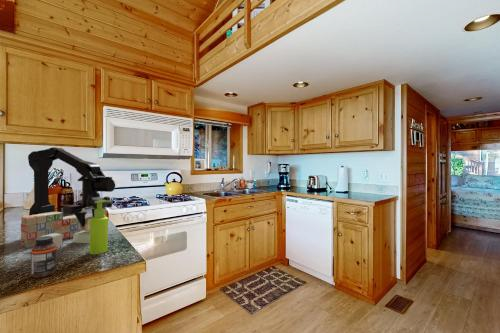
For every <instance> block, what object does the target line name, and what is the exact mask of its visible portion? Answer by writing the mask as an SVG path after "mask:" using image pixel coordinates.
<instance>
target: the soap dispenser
mask: <svg viewBox="0 0 500 333" xmlns="http://www.w3.org/2000/svg"><path fill="white" fill-rule="evenodd" d="M110 201H111V200H110ZM110 201H108V200H100V201H95V203H97V209H95V210H94V218H91V219H90V243H89V254H90V255H99V254H104V253H106V252H108V246H109V244H108V242H109V241H108V240H109V239H108V238H109V217H107V216H105V214H106V213H105V211H106V210H105V209H103V208H102V202H110Z"/></svg>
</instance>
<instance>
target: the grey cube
mask: <svg viewBox="0 0 500 333" xmlns="http://www.w3.org/2000/svg"><path fill="white" fill-rule="evenodd" d="M62 235H63V234H58V233H52V234H48V235H44V236H52V237H53V242H54V243H56V244H57V248H60V246H61V247H63V239H62ZM44 236H40V237H44Z"/></svg>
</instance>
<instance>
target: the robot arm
mask: <svg viewBox="0 0 500 333" xmlns="http://www.w3.org/2000/svg"><path fill="white" fill-rule="evenodd" d="M27 159H28V164H29V165H28V166H30V168H31V169H32V170H33V192H34V193H33V197H34V198H33V204H32V205H31V207H30V208H29V211H28V212H29V213H28V215H27V216H29V215H36V214H42V213H50V212H56V211H55V208H56V206H55V204H54V203H53V204H52V203H51V202H50V197H49V196H50V194H49V193H50V192H49V188H50V187H49V170H50V169H51V168H52V166H53V163H54V161H57V160H60V161H62V162H64V163H65V164H67V165H69V166H71V167H73V168H74V169H75V170H76V172H77V173H78V174H79V175H81V177H79V178H78V179H77V182H82V185H81V186H82V187H81V193H79V196H80V197H81V202H79V205H78V204H71V205H65V206H64V207H63V209H62V210H63V212H62V213H63V214H64V213H65V214H71V215H72V214H73V215H75V216H76V217H77V219H78V221H79V222H80V224H81V226H82V227H85V218H86V215H87V213H88V211H85V210H89V209H91V215H92V216H91V217H94V210H95V209H97V203H95V201H100V200H108V201H110V202H102V208H103V209H105V211H106V209H107V208H112V207H113V202H112V201H111V197H110V196H104V197H101V194H100V192H105V193H106V192H107V193H110V192H111V193H112V192H113V191H114V190H115V188H116V182H115V180H114V179H113V176H106V175H105V174H104V172H103V170H102V169H101V166H100V165H99V164H97V163H96V162H92V161H88V160H83V159H82V158H80V157H78V156H76V155H74V154H72V153H71V152H69V151H67V150H65V149H64V148H62V147H50V148H46V149H41V150H36V151H35V150H34V151H31V152H30V153H29V154H28V156H27Z"/></svg>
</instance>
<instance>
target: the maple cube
mask: <svg viewBox="0 0 500 333" xmlns="http://www.w3.org/2000/svg"><path fill="white" fill-rule="evenodd" d="M91 218H94V217H93V216H85V227H82V226H81V224H80V230H84V231H90V219H91Z"/></svg>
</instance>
